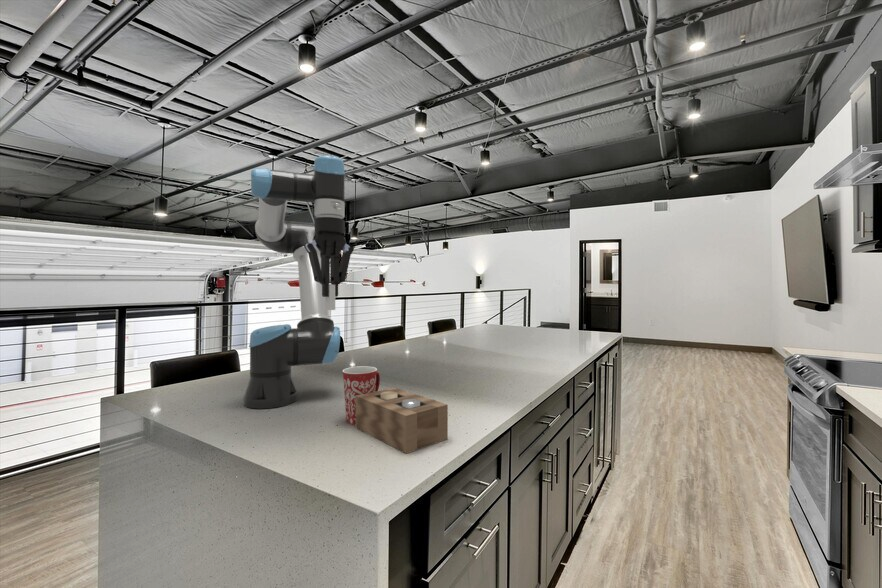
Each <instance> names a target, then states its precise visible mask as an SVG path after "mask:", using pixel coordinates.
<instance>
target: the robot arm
mask: <svg viewBox="0 0 882 588" xmlns="http://www.w3.org/2000/svg"><path fill="white" fill-rule="evenodd" d="M313 172H314V174H309V173H304V172H303V173H302V172H301V173H300V172H294V171H285V170H276V169H270V168H252V170H251V172H250V182H251V183H250V187H251V188H250V192H251V193H250V194H251V196H252V197H254V198H258V218H257V220H256V221H255V224H254V232H255V236H256V237H257V239H258V240H259V242H260V244H262V245H264V246H265V248H267V249H269V250H272V251H273V252H275V253H280V254H292V258H293V260H295V261H296V262H297V267H298V270H297V271H298V282H299V283H298V284H299V296H300V297H299V298H300V313H301V314H300V316H301V319H300V321H298V322H297V324H296V328H292V325H290V324H289V323H288V324H287V323H286V324H276V325H275V324H274V325H270V326H265V327H260V328H257V329H255V330H253V331H252V332H251V333H250V336H249V345H248V347H249V381H248V384H247V387H246V390H245V392H244V395H243V407H246V408H249V409H256V410H257V409H272V408H273V409H274V408H278V407H284V406H287V405H291V404H293V403H295V402H296V401H298V390H297V388H296V385H295V382H294V380H293V377H292V367H295V366H297V367H298V366H299V367H300V366H310V365H324V364H330V363H334V362H336V361H337V358H338V356H339V351H340V346H341V344H340V343H341V330H340V329H341V328H340V327H339V326H335V324H334V320H333V319H332V318H330V317H329V311H336V298H337V297H338V296H339V285H340V284H341V283H344V282H345V281H346V278H347V273H348V268H349V265H350V260H351V256H352V254H353V253H354V251H355V248H354V246H350V245H349V244H347V240H346V238H345V233H346V225H345V224H346V223H345V222H346V221H345V220H344V218H345V207H346V206H345V205H346V203H345V180H346V179H345V175H346V172H345V163H344V161H343V159H341V158H340V157H337V156H334V155H320V156H317V157H316V158H314V165H313ZM288 201H290V202H291V201H292V202H301V203H302V202H303V203H313V204H314V206H313V207H314V209H313V210H314V211H313V212H314V217H316V218H315V219H314V222H303V221H291V220H290V221H289V220H285V217H286V212H287V206H288ZM341 251H342V254H341ZM340 255H341V256H340ZM340 257H341V259H340ZM339 261H340V262H339Z"/></svg>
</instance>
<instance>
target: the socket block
mask: <svg viewBox="0 0 882 588" xmlns="http://www.w3.org/2000/svg"><path fill="white" fill-rule="evenodd" d="M388 391H393V392H397V393H398V398H394V399H389V400H385V399H382V398H381V393H382V392H388ZM405 399H418V400H420V406H417V407H414V408H410V409H409V408H406V407H403V406H402V401H403V400H405ZM448 406H449V405H448V403H443V402H441V401H437V400H434V399H432V398H429V397H425V396H423V395H419V394H416V393H412V392H410V391H406V390H404V389H401V388H398V387H391V388H387V389H386V388H385V389H382V390H378V391H376V392H371V393H366V394H361V395H356V424H355V428H356V429H358V430H359V431H361V432H363V433H366V435H367V434H368V435H369V436H372V437H373V438H375V439H377V440H379V441H381V442H382V443H384V444H386V445H389V446H390V447H392V448H394V449H396V450H398V451H400V452H401V453H404V454H410V453H412V452H415V451H417V450H421V449H423V448H426V447H429V446H432V445H435V444H437V443H441V442H443V441H446V440H448V439H449V437H448V434H449V432H448V431H449V430H448V428H449V426H448V417H449V416H448V413H449V412H448V411H449V409H448Z"/></svg>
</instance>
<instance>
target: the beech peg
mask: <svg viewBox="0 0 882 588" xmlns="http://www.w3.org/2000/svg"><path fill="white" fill-rule="evenodd" d="M381 398H382V399H385V400H389V399H394V398H398V393H397V392H393V391H388V392H382V393H381Z"/></svg>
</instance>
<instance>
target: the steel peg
mask: <svg viewBox="0 0 882 588" xmlns="http://www.w3.org/2000/svg"><path fill="white" fill-rule="evenodd" d="M402 406H403V407H406V408H409V409H410V408H414V407H417V406H420V400H418V399H405V400H403V401H402Z"/></svg>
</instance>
